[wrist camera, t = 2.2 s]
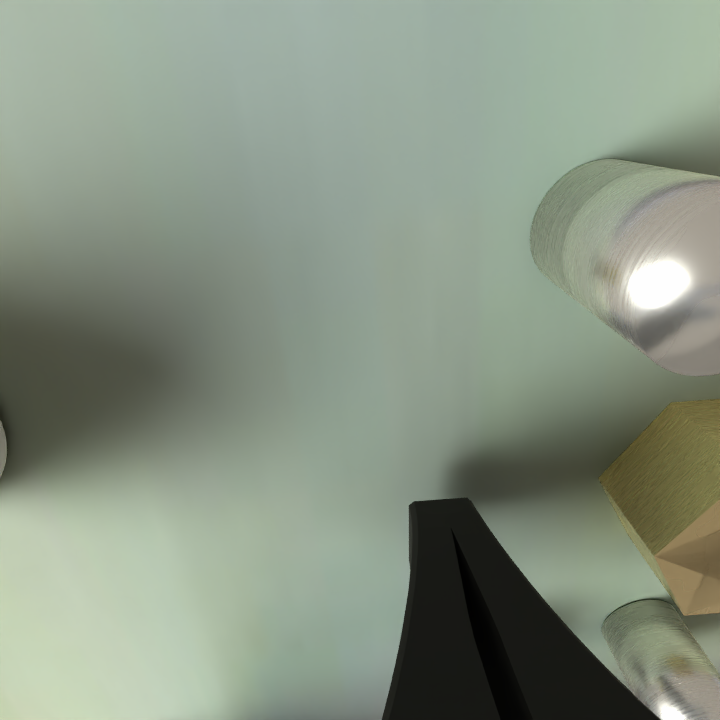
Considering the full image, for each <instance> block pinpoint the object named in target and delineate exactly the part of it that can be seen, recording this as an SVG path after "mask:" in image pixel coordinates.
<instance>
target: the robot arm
mask: <svg viewBox="0 0 720 720" xmlns="http://www.w3.org/2000/svg"><path fill="white" fill-rule="evenodd" d="M409 561H410V570H411V571H410V581H409V590H408V598H407V604H406V610H405V616H404V623H403V629H402V634H401V640H400V645H399V650H398V654H397V659H396V664H395V668H394V673H393V677H392V682H391V686H390V690H389V694H388V698H387V702H386V706H385V710H384V713H383V717H382V720H661V719H660V718H659V717H658V716H656V715H655V714H654V713H653V712H652V711H651V710H650V709H649V708H648V707H646V706H645V705H644V704H643V703H642V702H641V701H640V700H639V699H638V698H637V697H636V696H635V695H634V694H633V693H632V692H631V691H630V690H629V689H628V688H627V687H626V686H625V685H623V684H622V683H621V682H620V681H619V680H618V679H617V678H616V677H615V676H614V675H613V674H612V673H611V672H610V671H609V670H608V669H607V668H606V667H605V666H604V665H603V664H602V663H601V662H600V661H599V660H598V659H597V658H596V656H595V655H594V654H593V653H592V652H591V651H590V650H589V649H588V648H587V647H586V646H585V645H584V644H583V643H582V642H581V641H580V640H579V639H578V638H577V637H576V635H575V634H574V633H573V632H572V631H571V630H570V629H569V628H568V627H567V626H566V624H565V623H564V622H563V621H562V620H561V619H560V618H559V616H558V615H557V614H556V613H555V612H554V611H553V610H552V608H551V607H550V606H549V605H548V604H547V603H546V602H545V600H544V599H543V598H542V597H541V596H540V594H539V593H538V592H537V591H536V589H535V588H534V587H533V586H532V585H531V583H530V582H529V581H528V580H527V578H526V577H525V576H524V574H523V573H522V572H521V571H520V569H519V568H518V567H517V566H516V564H515V563H514V562H513V561H512V559H511V558H510V557H509V555H508V554H507V553H506V551H505V550H504V549H503V547H502V546H501V544H500V543H499V542H498V540H497V539H496V538H495V536H494V535H493V533H492V532H491V531H490V529H489V528H488V526H487V525H486V523H485V522H484V520H483V519H482V517H481V516H480V514H479V513H478V511H477V510H476V508H475V507H474V505H473V503H472V502H471V501H470V500H469V499H468V498H454V499H441V500H428V501H415V502H413V503H412V504H410V505H409Z"/></svg>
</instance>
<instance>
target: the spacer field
mask: <svg viewBox="0 0 720 720" xmlns="http://www.w3.org/2000/svg"><path fill="white" fill-rule="evenodd" d="M530 247H531V252H532V256H533V259H534V262H535V264H536V265H537V267H538V269H539V270H540V271H541V272H542V274H543V275H544V276H545V277H547V278H548V279H549V280H550V281H552V282H553V283H554V284H555V285H557V286H558V287H559V288H560V289H562V290H563V291H564V292H566V293H567V294H568V295H569V296H571V297H572V298H573V299H575V300H576V301H577V302H578V303H580V304H581V305H582V306H583V307H585V308H586V309H587V310H589V311H590V312H591V313H592V314H594V315H595V316H596V317H598V318H599V319H600V320H601V321H603V322H604V323H605V324H606V325H608V326H609V327H610V328H612V329H613V330H614V331H615V332H617V333H618V334H619V335H621V336H622V337H623V338H624V339H626V340H627V341H628V342H629V343H631V344H632V345H633V346H635V347H636V348H637V349H638V350H640V351H641V352H642V353H644V354H645V355H646V356H647V357H649V358H650V359H651V360H652V361H654V362H655V363H656V364H658V365H659V366H661V367H663V368H664V369H666V370H669V371H671V372H674V373H678V374H682V375H689V376H708V375H716V374H720V177H719V176H713V175H707V174H701V173H695V172H689V171H683V170H677V169H671V168H665V167H659V166H653V165H648V164H642V163H636V162H630V161H624V160H618V159H602V160H596V161H592V162H589V163H586V164H584V165H581V166H579V167H577V168H575V169H574V170H572V171H570V172H569V173H567V174H566V175H565V176H563V177H562V178H561V179H560V180H559V181H558V182H556V183H555V184H554V186H553V187H552V188H551V189H550V190H549V191H548V193H547V194H546V195H545V197H544V198H543V200H542V201H541V203H540V205H539V207H538V209H537V211H536V213H535V216H534V219H533V222H532V227H531V232H530ZM602 634H603V636H604V638H605V640H606V642H607V644H608V646H609V648H610V650H611V652H612V654H613V656H614V658H615V660H616V662H617V664H618V666H619V667H620V669H621V671H622V673H623V675H624V677H625V679H626V681H627V683H628V685H629V687H630V689H631V691H632V693H633V694H634V695H635V696H636V697H637V698H638V699H639V700H640V701H641V702H642V703H643V704H644V705H645V706H646V707H648V708H649V709H650V710H651V711H652V712H653V713H654V714H655V715H656V716H658V717H659V718H660V719H661V720H720V674H719V673H718V671H717V670H716V668H715V667H714V665H713V664H712V662H711V661H710V660H709V658H708V657H707V655H706V654H705V652H704V651H703V649H702V648H701V646H700V645H699V643H698V642H697V641H696V639H695V638H694V636H693V635H692V633H691V632H690V630H689V629H688V627H687V626H686V624H685V623H684V622H683V620H682V619H681V617H680V616H679V614H678V613H677V611H676V610H675V608H674V607H673V606H672V605H671V604H669V603H667V602H665V601H661V600H643V601H638V602H634V603H631V604H628V605H626V606H623V607H621V608H619V609H618V610H616V611H615V612H613V613H612V614H611V615H610V616H609V617H608V618H607V619H606V620H605V621H604V623H603V625H602Z"/></svg>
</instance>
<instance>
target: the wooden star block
mask: <svg viewBox="0 0 720 720" xmlns="http://www.w3.org/2000/svg"><path fill="white" fill-rule="evenodd" d="M598 479H599V481H600V483H601V485H602V487H603V489H604V490H605V492H606V494H607V496H608V498H609V500H610V502H611V504H612V506H613V507H614V509H615V511H616V513H617V515H618V517H619V519H620V521H621V523H622V524H623V526H624V528H625V530H626V532H627V534H628V536H629V537H630V538H631V540H632V541H633V543H634V544H635V546H636V547H637V549H638V550H639V551H640V553H641V554H642V556H643V557H644V559H645V560H646V562H647V563H648V564H649V566H650V567H651V569H652V570H653V572H654V573H655V575H656V576H657V577H658V579H659V580H660V582H661V583H662V585H663V586H664V588H665V589H666V590H667V592H668V593H669V595H670V596H671V598H672V599H673V601H674V602H675V603H676V605H677V606H678V608H679V609H680V611H681V612H682V614H683V615H684V616H686V615H699V614H711V613H720V399H712V400H698V401H685V402H671V403H670V404H669V405H668V406H667V407H666V408H665V409H664V410H663V411H662V412H661V414H660V415H659V416H658V417H657V418H656V419H655V420H654V421H653V422H652V423H651V424H650V425H649V426H648V427H647V428H646V429H645V430H644V431H643V432H642V433H641V434H640V435H639V436H638V437H637V438H636V439H635V441H634V442H633V443H632V444H631V445H630V446H629V447H628V448H627V449H626V450H625V451H624V452H623V453H622V454H621V455H620V456H619V457H618V458H617V459H616V460H615V461H614V462H613V463H612V464H611V465H610V466H609V467H608V469H607V470H606V471H605V472H604V473H603V474H602V475H601V476H600V477H599V478H598Z"/></svg>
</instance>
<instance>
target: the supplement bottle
mask: <svg viewBox="0 0 720 720" xmlns="http://www.w3.org/2000/svg"><path fill="white" fill-rule="evenodd" d="M6 457H7V443H6V436H5V432H4V428H3V425H2V423H1V420H0V477H1V475H2V473H3V470H4V467H5V464H6Z"/></svg>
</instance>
